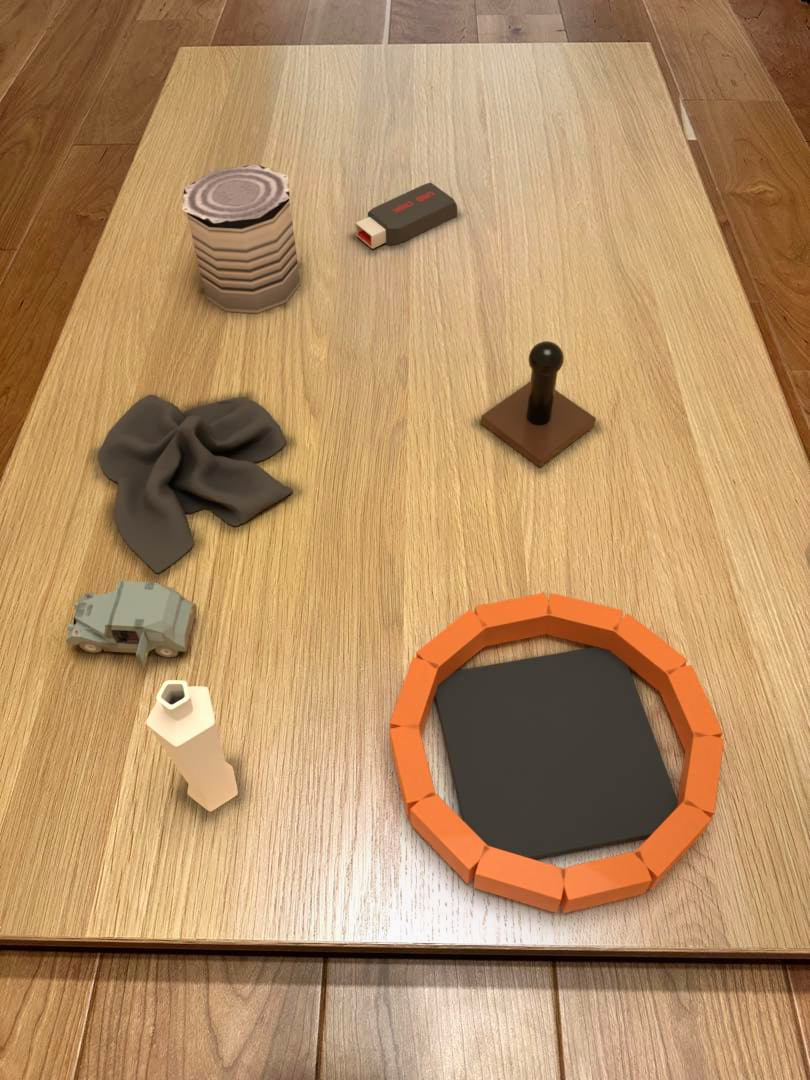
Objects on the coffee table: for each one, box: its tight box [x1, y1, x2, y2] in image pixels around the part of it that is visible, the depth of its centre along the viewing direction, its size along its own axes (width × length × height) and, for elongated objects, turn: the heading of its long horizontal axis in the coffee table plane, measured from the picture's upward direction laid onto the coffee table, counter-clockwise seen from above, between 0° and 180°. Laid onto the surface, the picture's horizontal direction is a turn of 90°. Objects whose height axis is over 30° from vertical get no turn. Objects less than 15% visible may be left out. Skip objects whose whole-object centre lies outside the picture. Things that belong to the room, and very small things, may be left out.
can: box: [181, 164, 301, 315], centre depth 107 cm, size 11×11×12 cm
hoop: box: [388, 592, 725, 914], centre depth 75 cm, size 24×24×3 cm
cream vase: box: [145, 679, 239, 812], centre depth 69 cm, size 5×4×15 cm
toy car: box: [65, 580, 198, 668], centre depth 81 cm, size 6×10×5 cm, turn 85°
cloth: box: [97, 394, 293, 574], centre depth 92 cm, size 22×19×6 cm
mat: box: [434, 646, 678, 860], centre depth 76 cm, size 16×16×1 cm
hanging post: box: [480, 340, 597, 468], centre depth 93 cm, size 8×8×10 cm
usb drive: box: [354, 182, 458, 249], centre depth 116 cm, size 5×12×3 cm, turn 127°
